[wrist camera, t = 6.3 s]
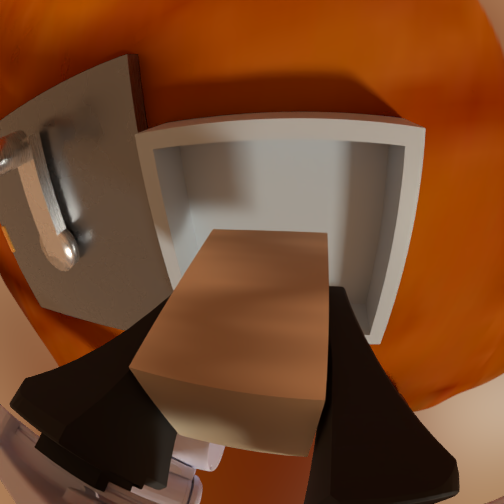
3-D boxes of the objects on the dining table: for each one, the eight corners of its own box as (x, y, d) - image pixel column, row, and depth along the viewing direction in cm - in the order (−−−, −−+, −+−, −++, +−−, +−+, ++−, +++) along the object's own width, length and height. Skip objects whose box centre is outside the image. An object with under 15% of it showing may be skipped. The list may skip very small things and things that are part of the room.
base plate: (137, 54, 11) (126, 53, 10) (197, 334, 22) (193, 345, 21) (-16, 135, 15) (-25, 139, 14) (46, 301, 26) (40, 307, 25)
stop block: (327, 232, 9) (325, 399, 4) (320, 317, 11) (307, 456, 7) (213, 229, 10) (128, 367, 5) (227, 310, 12) (179, 434, 7)
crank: (86, 265, 18) (29, 328, 13) (58, 262, 19) (6, 316, 14) (39, 105, 12) (-48, 140, 6) (14, 120, 13) (-61, 155, 7)
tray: (402, 118, 11) (425, 128, 8) (374, 308, 17) (379, 344, 14) (166, 122, 13) (134, 134, 11) (201, 297, 19) (185, 328, 17)
